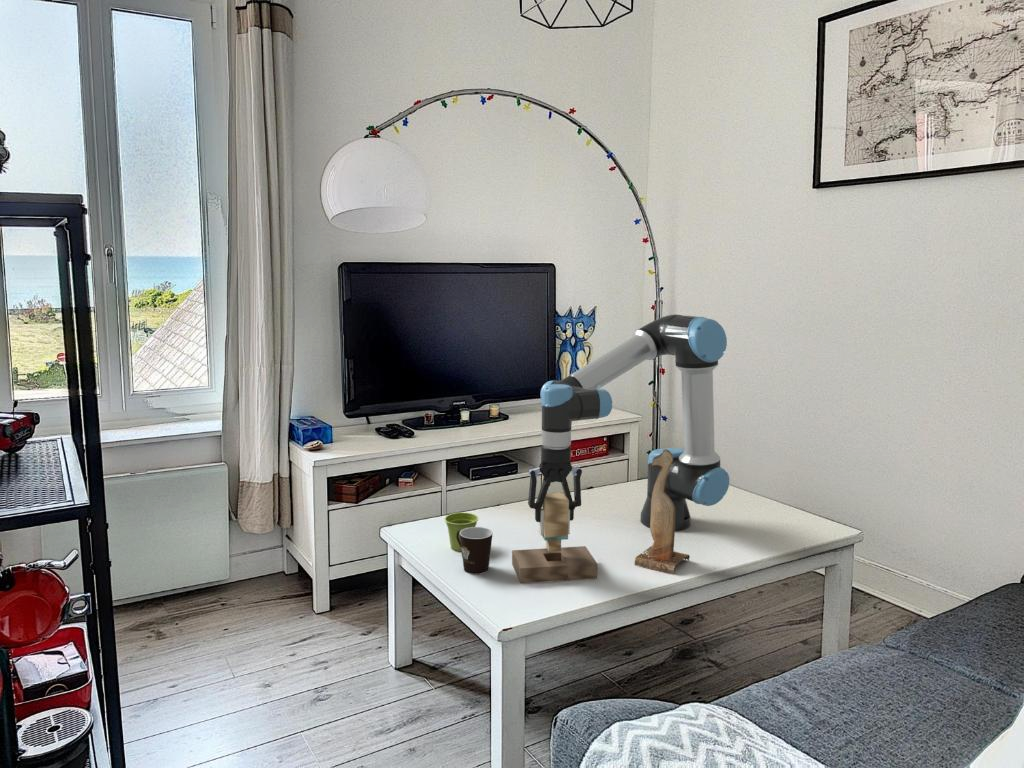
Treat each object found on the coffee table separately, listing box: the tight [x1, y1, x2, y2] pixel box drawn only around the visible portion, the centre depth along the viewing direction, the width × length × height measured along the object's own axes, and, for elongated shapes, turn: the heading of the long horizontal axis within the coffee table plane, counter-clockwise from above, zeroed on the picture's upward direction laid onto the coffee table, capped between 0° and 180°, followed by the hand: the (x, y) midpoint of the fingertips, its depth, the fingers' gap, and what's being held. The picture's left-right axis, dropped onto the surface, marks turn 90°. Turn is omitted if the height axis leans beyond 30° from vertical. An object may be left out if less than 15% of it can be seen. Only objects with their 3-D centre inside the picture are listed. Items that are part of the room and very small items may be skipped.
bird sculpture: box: [634, 449, 690, 575], centre depth 208 cm, size 11×12×32 cm
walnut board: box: [511, 545, 599, 584], centre depth 204 cm, size 20×12×4 cm, turn 100°
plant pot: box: [444, 512, 479, 552], centre depth 220 cm, size 9×9×9 cm
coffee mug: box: [456, 526, 494, 575], centre depth 206 cm, size 12×9×10 cm
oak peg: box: [541, 492, 569, 552], centre depth 202 cm, size 6×6×14 cm
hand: (554, 532), depth 203 cm, fingers closed on oak peg, 6 cm apart
